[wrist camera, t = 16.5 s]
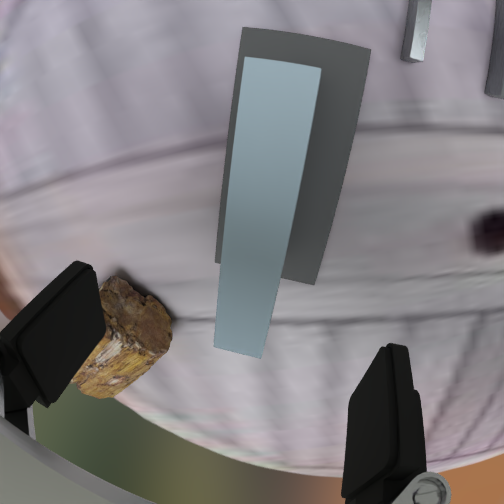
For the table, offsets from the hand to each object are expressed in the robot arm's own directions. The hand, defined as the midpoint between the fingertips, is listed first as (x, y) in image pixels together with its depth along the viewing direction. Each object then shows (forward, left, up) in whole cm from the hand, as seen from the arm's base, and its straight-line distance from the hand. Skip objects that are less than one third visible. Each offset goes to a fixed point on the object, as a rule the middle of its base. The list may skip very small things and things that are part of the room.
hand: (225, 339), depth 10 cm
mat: (0, 0, -20) cm, 20 cm away
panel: (0, 0, -19) cm, 19 cm away
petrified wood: (+18, +25, -20) cm, 37 cm away
